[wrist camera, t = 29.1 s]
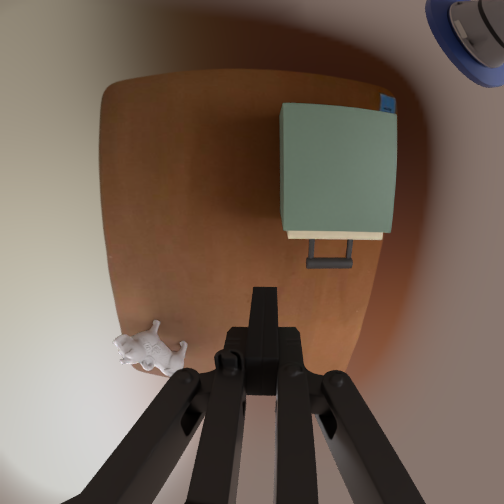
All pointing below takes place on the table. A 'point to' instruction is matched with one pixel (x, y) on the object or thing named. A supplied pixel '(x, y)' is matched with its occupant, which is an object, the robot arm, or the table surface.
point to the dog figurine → (150, 351)
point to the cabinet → (337, 168)
